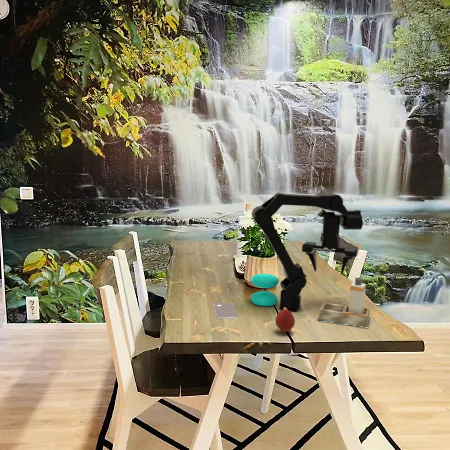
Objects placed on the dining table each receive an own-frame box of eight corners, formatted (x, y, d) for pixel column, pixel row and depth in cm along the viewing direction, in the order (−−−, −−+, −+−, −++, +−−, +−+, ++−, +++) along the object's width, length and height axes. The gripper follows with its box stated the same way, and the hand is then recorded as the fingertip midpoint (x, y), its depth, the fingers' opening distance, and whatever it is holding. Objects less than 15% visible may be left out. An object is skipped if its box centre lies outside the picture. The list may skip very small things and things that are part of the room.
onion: (292, 328, 143) (293, 304, 142) (295, 336, 138) (296, 311, 136) (273, 328, 143) (274, 304, 142) (276, 336, 138) (277, 310, 136)
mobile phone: (216, 317, 150) (212, 302, 165) (216, 320, 150) (212, 305, 165) (239, 316, 151) (233, 301, 166) (239, 319, 151) (233, 304, 166)
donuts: (246, 277, 164) (258, 271, 173) (245, 304, 166) (257, 296, 174) (272, 281, 159) (282, 275, 168) (271, 309, 161) (281, 301, 170)
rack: (317, 321, 151) (318, 309, 150) (322, 312, 159) (323, 301, 158) (367, 328, 145) (368, 316, 144) (370, 319, 153) (371, 307, 152)
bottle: (347, 320, 150) (350, 279, 147) (351, 316, 153) (354, 276, 151) (360, 322, 148) (363, 281, 145) (363, 319, 151) (366, 278, 149)
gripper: (361, 228, 162) (358, 270, 165) (309, 224, 169) (307, 264, 172) (357, 233, 152) (354, 278, 155) (302, 228, 159) (300, 271, 162)
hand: (328, 272), depth 161 cm, fingers open, 9 cm apart
